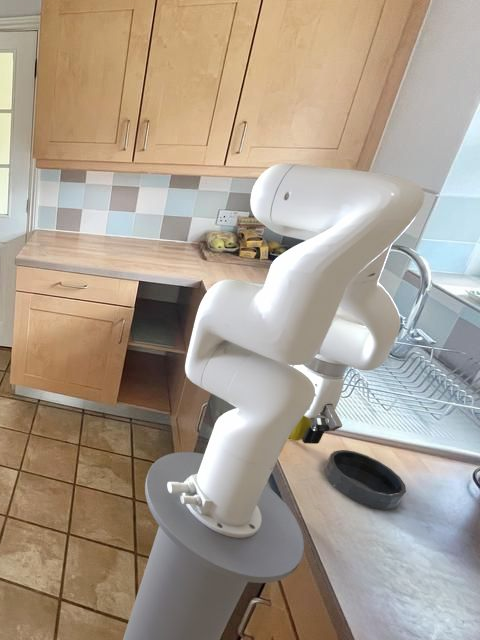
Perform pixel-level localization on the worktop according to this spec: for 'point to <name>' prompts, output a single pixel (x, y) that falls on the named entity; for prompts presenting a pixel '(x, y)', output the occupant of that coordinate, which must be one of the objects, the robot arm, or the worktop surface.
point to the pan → (364, 479)
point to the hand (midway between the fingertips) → (293, 425)
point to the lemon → (300, 429)
